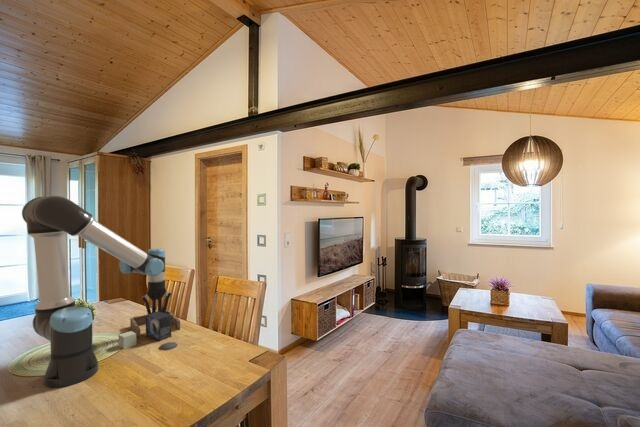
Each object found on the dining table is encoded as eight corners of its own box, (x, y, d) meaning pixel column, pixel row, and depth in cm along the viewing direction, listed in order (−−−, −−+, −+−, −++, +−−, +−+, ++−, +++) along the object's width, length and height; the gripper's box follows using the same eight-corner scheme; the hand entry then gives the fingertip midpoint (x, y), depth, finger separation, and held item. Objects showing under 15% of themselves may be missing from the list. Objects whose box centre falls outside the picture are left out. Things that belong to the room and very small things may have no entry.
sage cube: (136, 344, 134) (136, 333, 134) (123, 349, 130) (123, 337, 130) (131, 341, 137) (131, 330, 137) (118, 346, 133) (118, 334, 133)
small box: (144, 337, 142) (144, 314, 142) (157, 332, 148) (157, 310, 148) (158, 341, 137) (158, 318, 137) (171, 336, 143) (171, 314, 143)
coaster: (179, 346, 132) (179, 346, 132) (161, 351, 127) (161, 350, 127) (174, 341, 137) (174, 340, 137) (157, 345, 133) (157, 345, 133)
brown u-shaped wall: (180, 329, 151) (180, 320, 151) (137, 339, 139) (137, 330, 139) (169, 318, 166) (169, 310, 166) (130, 326, 154) (130, 318, 154)
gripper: (168, 277, 155) (169, 323, 156) (139, 281, 147) (140, 329, 147) (173, 279, 150) (173, 327, 150) (143, 284, 141) (143, 334, 141)
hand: (156, 328), depth 149 cm, fingers closed
